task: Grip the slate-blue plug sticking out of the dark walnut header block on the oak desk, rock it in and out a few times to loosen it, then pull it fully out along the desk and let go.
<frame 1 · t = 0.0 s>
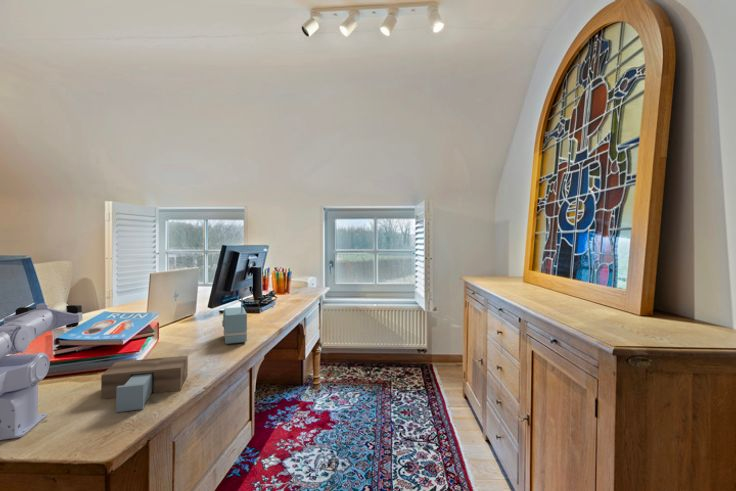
hand: (62, 309, 91), 22 cm above the table, fingers open, 7 cm apart
header: (147, 386, 94), on the table
plug: (141, 384, 88), point 3 cm above the table, slide at 0.0 cm
radio: (233, 340, 140), on the table
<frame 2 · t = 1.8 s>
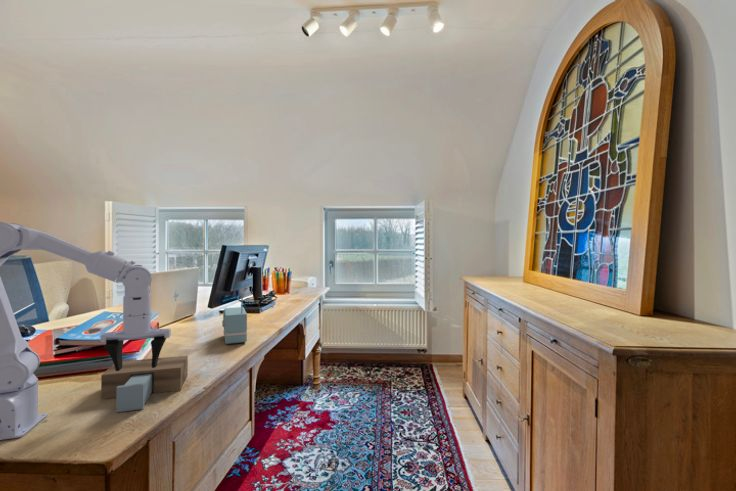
hand: (136, 368, 85), 9 cm above the table, fingers open, 7 cm apart
nothing on the table moved.
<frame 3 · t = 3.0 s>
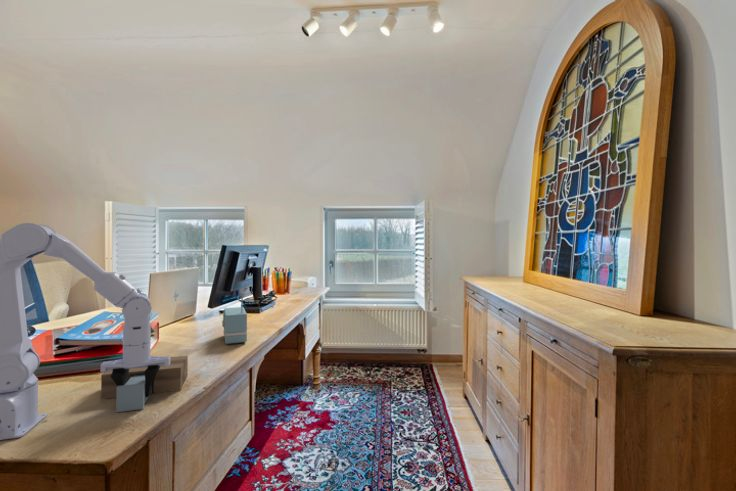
hand: (136, 396, 85), 1 cm above the table, fingers closed on plug, 4 cm apart
plug: (141, 384, 88), point 3 cm above the table, slide at 0.0 cm, touching gripper
everything else where it was.
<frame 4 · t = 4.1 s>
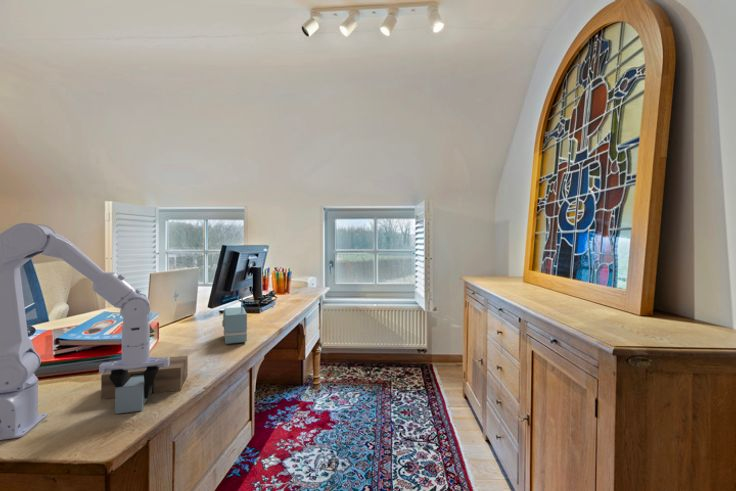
hand: (135, 398, 84), 1 cm above the table, fingers closed on plug, 4 cm apart
plug: (140, 385, 87), point 3 cm above the table, slide at 0.8 cm, touching gripper
everything else where it was.
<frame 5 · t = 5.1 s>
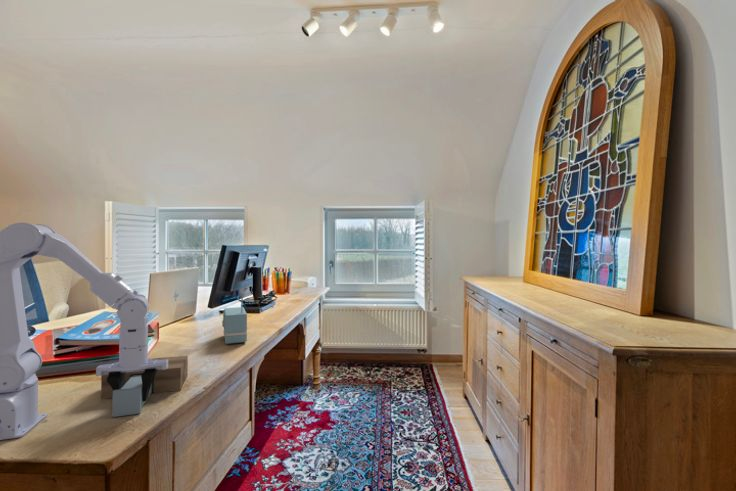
hand: (133, 400, 82), 1 cm above the table, fingers closed on plug, 4 cm apart
plug: (138, 387, 86), point 3 cm above the table, slide at 2.2 cm, touching gripper
everything else where it was.
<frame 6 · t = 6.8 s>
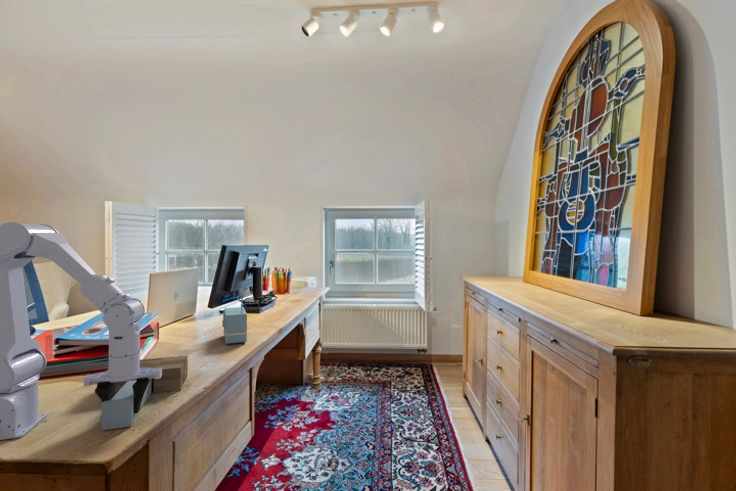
hand: (124, 413, 77), 1 cm above the table, fingers closed on plug, 4 cm apart
plug: (130, 397, 81), point 3 cm above the table, slide at 8.0 cm, touching gripper
everything else where it was.
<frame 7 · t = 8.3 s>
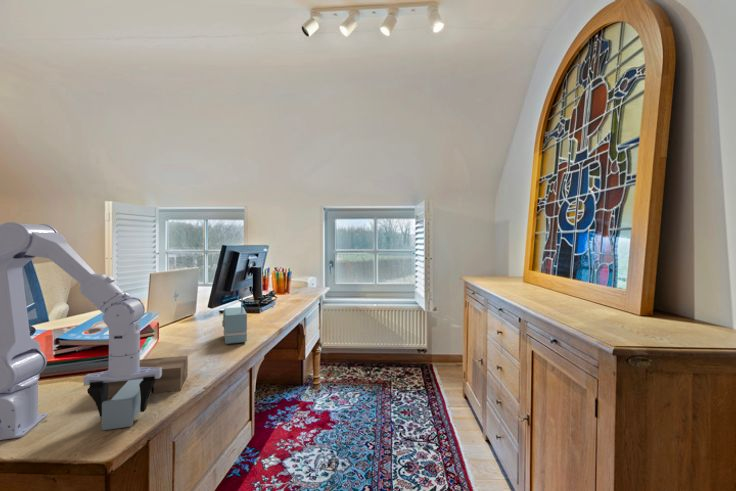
hand: (123, 412, 77), 2 cm above the table, fingers open, 7 cm apart
plug: (130, 397, 81), point 3 cm above the table, slide at 8.0 cm
everything else where it was.
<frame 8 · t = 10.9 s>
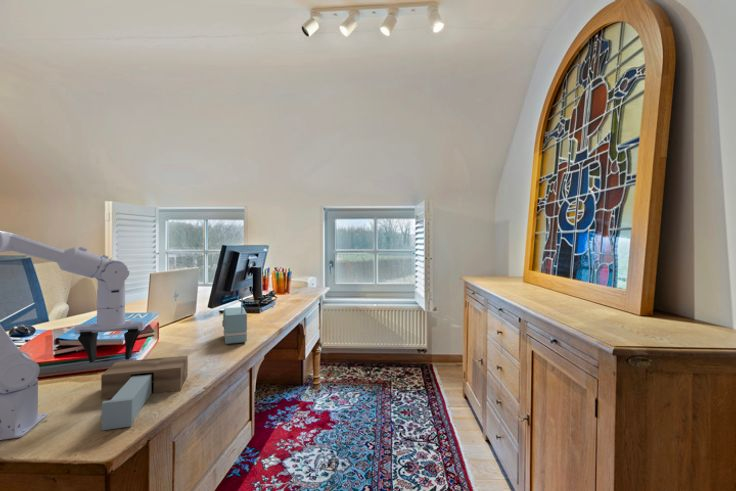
hand: (110, 359, 87), 10 cm above the table, fingers open, 7 cm apart
nothing on the table moved.
at the end: plug slide at 8.0 cm; the gripper is holding nothing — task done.
